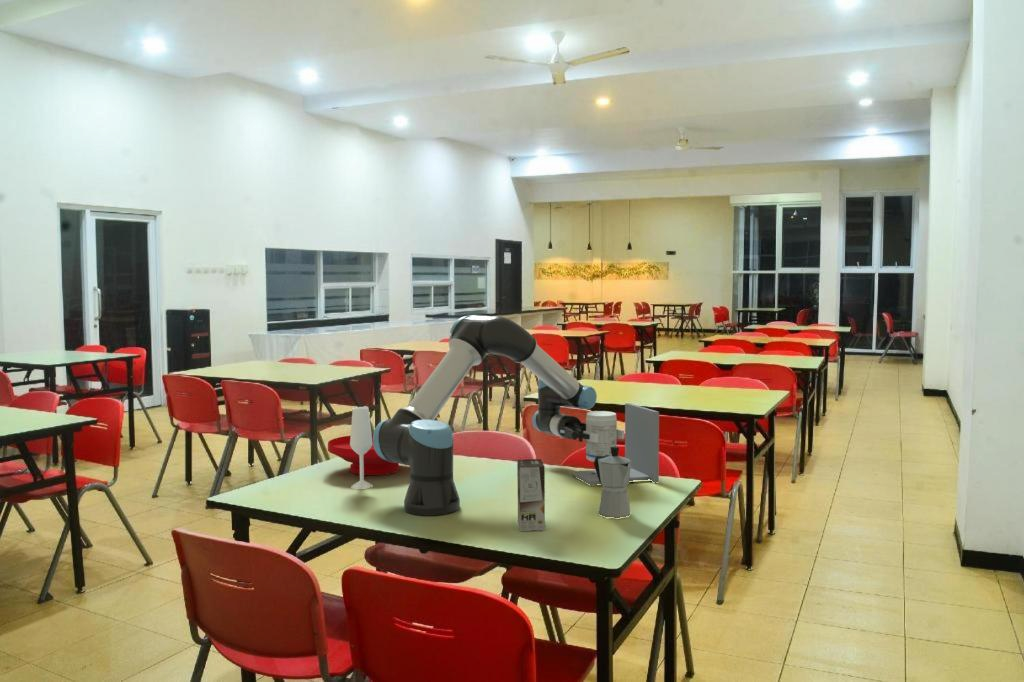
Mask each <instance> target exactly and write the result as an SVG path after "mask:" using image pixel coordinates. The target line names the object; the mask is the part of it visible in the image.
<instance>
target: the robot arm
mask: <svg viewBox="0 0 1024 682" xmlns="http://www.w3.org/2000/svg"><path fill="white" fill-rule="evenodd" d="M449 333H450V335H449V341H448V347H449V349H448V351H447V352H446V353H445V354H444V357H442V358H441V361H440V362H439V363H438V365H437V366H436V367H435V368H434V370H433V371H432V372H431V374H430V375H429V377H428V378H427V379H426V380H425V382H424V383H423V385H421V387H420V389H419V390H418V391H417V393H416V394H415V395H414V397H413V398H412V399H411V401H410V402H409V403H408V405H407V406H406V407H402V408H398V410H397V411H396V412H395V414H394V415H393V416H392V417H391V418H386V419H384V420H381V421H380V422H378V424H377V425H376V427H375V429H374V430H373V433H372V434H373V446H374V449H375V451H376V453H377V454H378V456H379V457H381V458H382V459H385V460H387V461H389V462H392V463H399V465H404V466H409V474H410V475H409V484H408V487H407V490H406V494H405V497H404V501H403V509H404V512H407V513H408V514H411V515H416V516H417V515H418V516H441V515H447V514H451V513H455V512H456V511H458V510H460V508H461V499H460V495H459V492H458V490H457V487H456V484H455V480H454V442H455V441H454V437H453V436H454V434H453V429H452V426H451V425H450V424H448V423H446V422H445V421H440V420H437V419H436V418H437V417H438V415H439V413H441V411H442V409H443V408H444V407H445V405H446V404H447V402H448V401H449V400H450V398H451V397H452V396H453V394H454V393H455V391H456V390H457V388H458V387H459V385H460V384H461V383H462V382H463V380H464V378H465V377H466V376H467V374H468V373H469V372H470V370H471V369H472V367H474V366H479V365H480V364H481V363H482V362H483V360H484V359H485V357H486V356H487V355H497V356H503V357H506V358H509V359H510V360H511V361H512V362H514V363H516V364H521V365H523V366H524V367H525V368H527V370H528V371H530V372H531V373H532V374H533V375H535V376H536V377H537V378H538V383H537V384H538V385H537V386H538V388H537V394H538V395H537V399H538V401H537V404H538V405H537V407H538V408H537V411H536V412H535V413H534V414H533V417H532V420H531V421H532V425H533V428H534V429H535V430H537V431H538V432H540V433H541V432H542V433H543V434H547V435H553V436H557V437H559V439H563V438H564V439H567V440H573V441H577V439H578V442H579V443H582V442H583V440H584V441H586V440H587V441H591V442H595V443H599V434H597V433H593V432H588V431H586V422H582V421H581V420H580V418H579V417H577V416H575V415H569V414H564V413H561V407H565V408H573V409H580V410H589V409H592V408H594V406H595V405H596V401H597V397H598V395H597V391H596V390H595V389H596V388H594V387H592V386H588V385H583V384H581V383H580V382H579V381H578V380H577V379H576V378H575V377H573V375H571V373H569V372H568V371H567V370H566V369H565V368H563V366H562V365H560V364H559V363H558V362H557V361H556V360H555V359H554V358H553V357H552V356H550V355H549V354H548V353H547V352H546V351H545V350H543V348H541V347H540V346H539V345H538V344H537V339H536V338H535V337H534V336H533V335H532V334H531V333H530V332H529V331H528V330H526V329H525V328H524V327H522V326H521V325H519V324H518V323H516V322H515V321H514V320H511V319H510V318H507V317H504V316H501V315H499V316H498V315H477V314H471V315H464V316H462V317H459V318H458V319H456V321H455V322H454V323H453V324H452V327H451V328H450V332H449ZM435 419H436V420H435ZM617 439H618V440H625V429H621V428H619V429H618V428H617Z"/></svg>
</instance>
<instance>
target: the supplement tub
mask: <svg viewBox="0 0 1024 682" xmlns="http://www.w3.org/2000/svg"><path fill="white" fill-rule="evenodd" d="M617 420H618V419H617V413H616V412H613V411H606V410H594V411H588V412H586V417H585V424H586V431H588V432H593V433H597V434H599V443H595V442H591V441H587V440H585V454H586V455H585V458H586V460H588V461H589V462H593V463H594V461H595V458H596V457H597V456H605V455H610V456H612V454H611V449H610V447H617V439H618V438H617V429H618V427H617V423H618V421H617Z"/></svg>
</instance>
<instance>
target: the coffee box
mask: <svg viewBox="0 0 1024 682" xmlns="http://www.w3.org/2000/svg"><path fill="white" fill-rule="evenodd" d="M516 462H517V463H516V465H517V468H516V469H517V470H516V471H517V472H516V473H517V477H516V478H517V524H518V528H519V531H520V532H532V531H531V530H544V531H545V530H546V528H545V526H546V520H545V519H546V516H545V515H546V514H545V513H546V511H545V505H546V502H545V501H546V499H545V498H546V497H545V496H546V495H545V494H546V491H545V489H546V488H545V486H546V485H545V483H546V482H545V481H546V479H545V478H546V477H545V473H546V471H545V469H546V467H545V464H544V462H543V461H542V459H541V458H533V459H532V458H529V459H528V458H527V459H517V460H516Z"/></svg>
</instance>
